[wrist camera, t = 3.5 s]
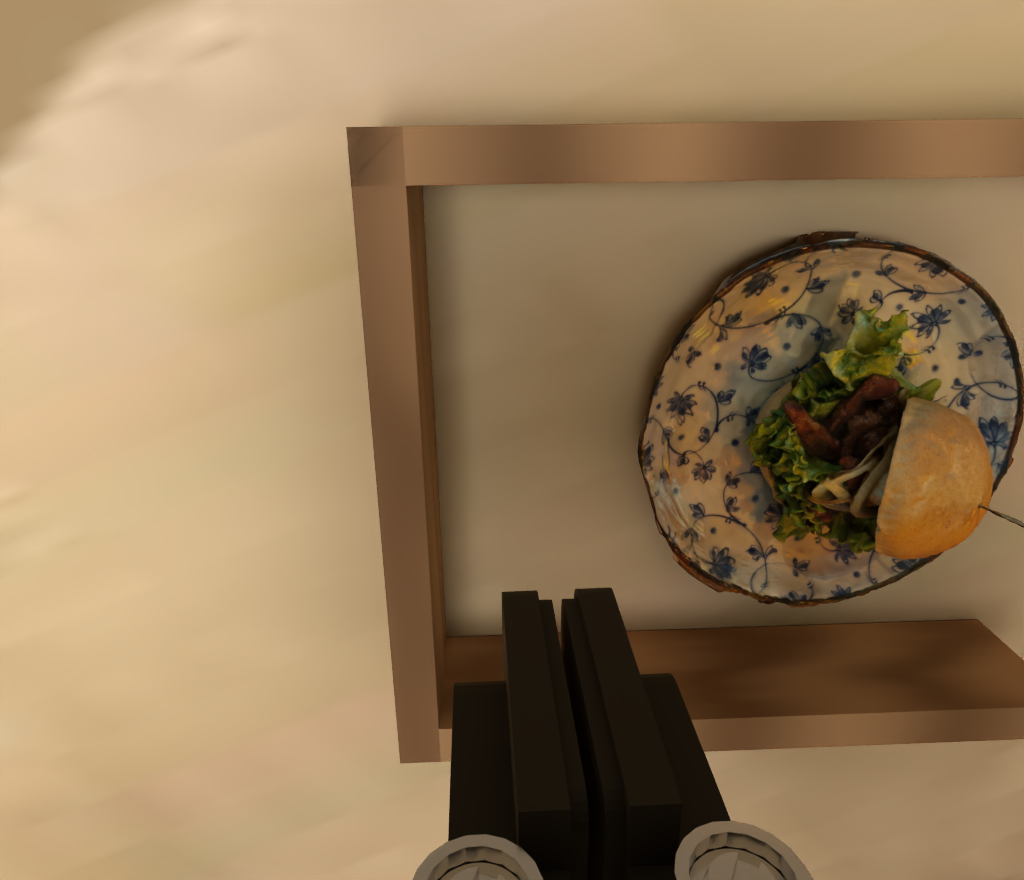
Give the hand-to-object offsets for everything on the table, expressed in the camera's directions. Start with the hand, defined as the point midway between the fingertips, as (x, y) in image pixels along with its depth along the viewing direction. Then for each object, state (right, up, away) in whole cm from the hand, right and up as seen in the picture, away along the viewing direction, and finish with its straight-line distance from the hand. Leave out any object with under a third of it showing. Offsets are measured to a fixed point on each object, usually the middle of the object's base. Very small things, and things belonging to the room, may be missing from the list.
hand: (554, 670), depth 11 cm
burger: (+9, +4, +13) cm, 16 cm away
